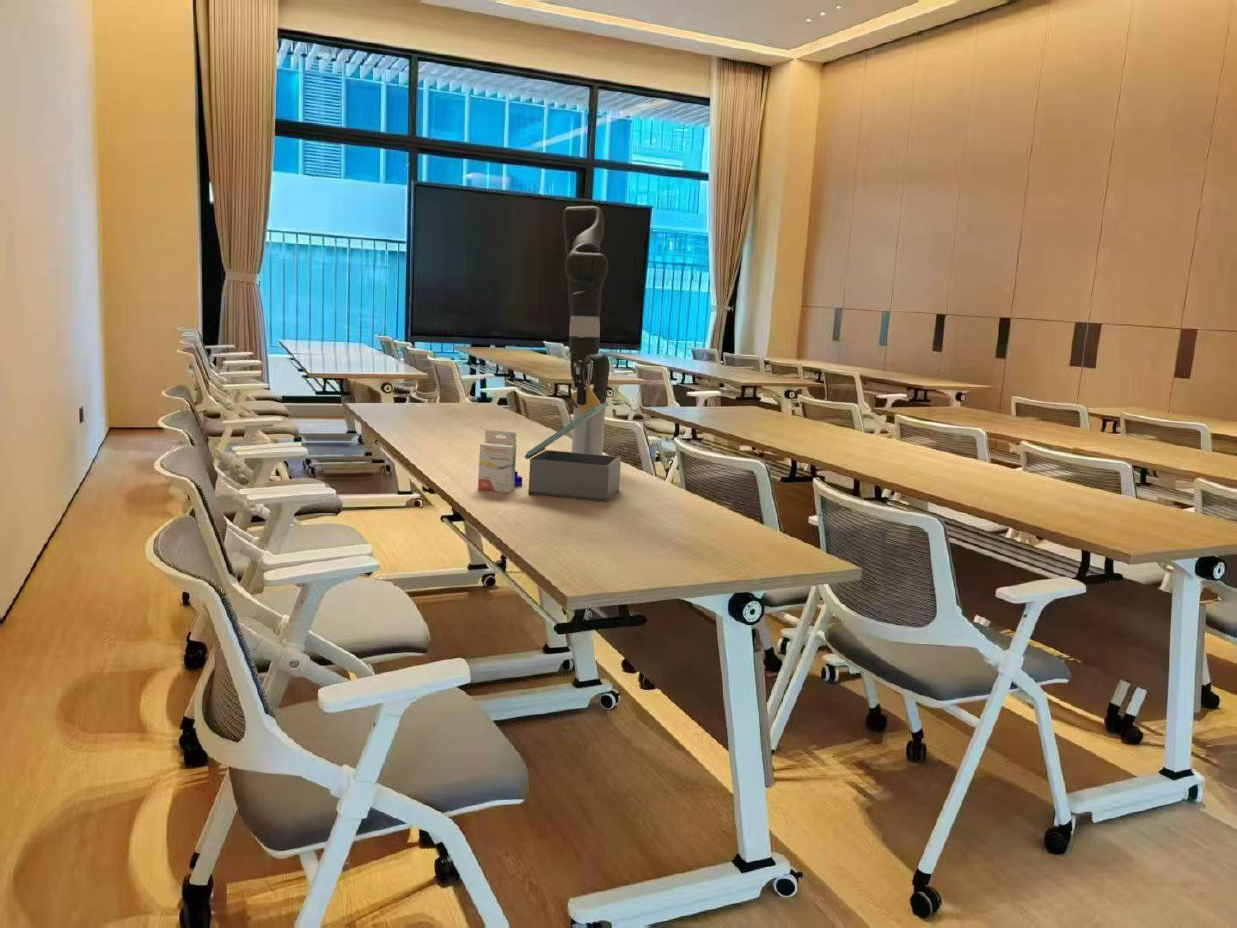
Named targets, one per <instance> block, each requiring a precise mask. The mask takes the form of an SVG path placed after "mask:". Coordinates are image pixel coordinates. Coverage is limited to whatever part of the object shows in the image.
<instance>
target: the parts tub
mask: <svg viewBox="0 0 1237 928" xmlns="http://www.w3.org/2000/svg"><path fill="white" fill-rule="evenodd" d="M621 464H622V456H618V455H617V456H616V455H607V454H605V455H604V454H602V455H597V454H586V453H576V452H572V451H564V450H563V451H562V450H553V449H545V450H544V451H542V452H540V453H538V454H536V455H534V456H533V457H531V458H529V473H528V474H529V476H528V495H533V496H541V497H550V498H551V497H552V498H560V499H561V498H562V499H572V500H584V501H593V502H603V503H607V502H609V500H611V498H613V497H614V496H615V494H616V493H618V492H619V490H620V479H621Z"/></svg>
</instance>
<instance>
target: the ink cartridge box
mask: <svg viewBox="0 0 1237 928" xmlns="http://www.w3.org/2000/svg"><path fill="white" fill-rule="evenodd" d="M500 435H501V436H503V437H502V438H501V437H496V436H500ZM484 437H485V439H484V442H482V443H480V444H479V446H480V447H479V460H478V477H477V478H478V479H477V490H479V491H480V490H481V491H489V492H490V491H491V492H500V493H512V491H514V490H515V486H514V482H515V471H516V463H517V462H516V460H517V432H514V431H513V432H510V431H503V430H502V431H501V430H489V429H487V430H485V432H484ZM504 437H505V438H504Z"/></svg>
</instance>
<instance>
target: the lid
mask: <svg viewBox="0 0 1237 928" xmlns="http://www.w3.org/2000/svg"><path fill="white" fill-rule="evenodd" d="M592 390H593V388H591V386H589V385H588V384H587V389H586V404H585V405H578V404H577V391H576V392H574V393H572V394H571V395H570V397H571V398H572V400H573V401H575V403H576V404H577V406H578V407H579V409H580V410H581V412H582V413H583V415H582V416H580V417H579V418H577V419H576V420H574V421H573V420H572V422H570V423H568V424H567V425H566V426H564V427H562V428H561V429H560V430H558V431H556V432H555V433H554V434H552V435H551V436H550V437H548V438H546V439H545V440H543V441H542V442H540V443H539V444H537V445H536V446H534V447H533V448H531V449H530V450H528V451H527V452H526V454H525V456H524V458H525V459H526V460H530V459H531V458H533V457H534V456H536V455H538V454H540V453H542V452H544V451H546V448H547V447H548V446H549V445H551V444H553V443H555V442H556V441H557V440H558V439H561V437H564V436H565V435H566V434H568V433H569V432H571V431H573V429H574V428H575V427H577V426H578V425H580V424H581V423H583V422H584V421H586V420H587V419H589V418H590V417H592V416H593V415H595V414H596V413H598V412H599V411H601V410H602V409H604V408H605V409H606V407H608V406H609V405H610V404H609V402H608V401H606V402H605V403H603V404H601V403H600V401H599V400H598V398H597V397H596V395H595V394H594V392H593V391H592Z"/></svg>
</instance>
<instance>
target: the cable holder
mask: <svg viewBox="0 0 1237 928" xmlns="http://www.w3.org/2000/svg"><path fill="white" fill-rule="evenodd" d="M518 474H519V472H518V471H516V470H515V482H514V487H521V486H523V477H522V476H520V475H518Z"/></svg>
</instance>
